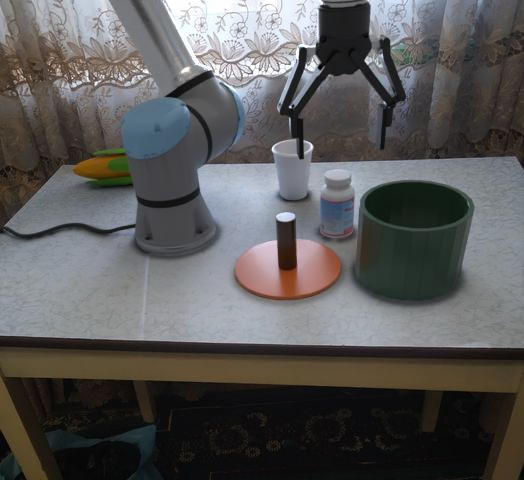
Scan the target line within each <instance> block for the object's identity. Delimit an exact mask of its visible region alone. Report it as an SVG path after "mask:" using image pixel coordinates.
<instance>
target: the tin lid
mask: <svg viewBox="0 0 524 480" xmlns="http://www.w3.org/2000/svg"><path fill="white" fill-rule="evenodd" d="M275 229H276V231H275V232H276V239H274V240H273V239H272V240H268V241H264V242H261V243H259V244H256V245H254V246H252V247H250V248H249V249H247V250H246V251H244V252H243V253H242V254H241V255H240V256H239V257H238V259H237V260H236V262H235V265H234V275H235V279H236V281H237V282H238V284H239V285H240V286H241V287H242V288H243V289H244V290H246V291H247V292H249V293H251V294H253V295H256V296H259V297H261V298H266V299H271V300H280V301H284V300H286V301H287V300H288V301H289V300H299V299H305V298H309V297H312V296H316V295H318V294H320V293H323V292H325V291H326V290H327V289H329V288H331V287H332V286H333V285H334V284H335V283H336V282H337V281H338V279H339V278H340V275H341V273H342V262H341V259H340V257H339V255H338V254H337V253H336V251H334V250H333V249H331V248H330V247H329V246H327V245H325V244H323V243H321V242H317V241H314V240H309V239H304V238H297V215H296V214H295V213H293V212H289V211H288V212H287V211H284V212H280V213H278V214H277V215H276V216H275Z"/></svg>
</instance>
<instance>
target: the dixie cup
mask: <svg viewBox="0 0 524 480" xmlns="http://www.w3.org/2000/svg"><path fill="white" fill-rule="evenodd" d="M313 150H314V144H312V143H311V142H310V141H307V140H304V159H301V160H299V157H298V155H297V146H296V139H287V140H283V141H278V142H276V143H275V144H274V145H273V146H272V148H271V152H272V153H273V159H274V164H275V170H276V177H277V182H278V188H279V189H278V190H279V194H280V197H281V198H282V199H284V200H287V201H300V200H302V199H304V198H305V197H307V195H308V190H309V182H310V173H311V164H312V156H313Z"/></svg>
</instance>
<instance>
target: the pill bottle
mask: <svg viewBox="0 0 524 480" xmlns="http://www.w3.org/2000/svg"><path fill="white" fill-rule="evenodd" d="M319 195H320V199H319V202H320V204H319V205H320V207H319V231H320V233H321V234H322V235H323V236H324V237H327V238H330V239H331V238H332V239H341V238H346V237H349V236H350V235H352V233H353V231H354V218H355V217H354V216H355V199H356V191H355V187H353V185H352V173H351V171H349V170H346V169H339V168H336V169H335V168H334V169H331V170H327V171H326V172H325V173H324V185H323V186H322V187H321V189H320V194H319Z"/></svg>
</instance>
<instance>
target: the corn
mask: <svg viewBox="0 0 524 480" xmlns="http://www.w3.org/2000/svg"><path fill="white" fill-rule="evenodd" d="M91 153H92V154H91V155H100V156H96V157H93V158H88V159H86V160H83V161H81V162H78V163H77V164H76V165H75V166H74V167H73V168H72V169H71V171H73V174H74V175H76V176H78V177H82V178H86V179H89V180H87V181H84V183H85V185H91V186H99V187H102V186H103V187H104V186H105V187H106V186H108V187H109V186H123V185H124V186H125V185H133V182H132V178H131V174H130V170H129V166H128V162H127V158H126V154H125V151H124V148H123V147H120V148H111V149H103V150H99V151H95V152H91ZM101 154H102V155H101Z"/></svg>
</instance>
